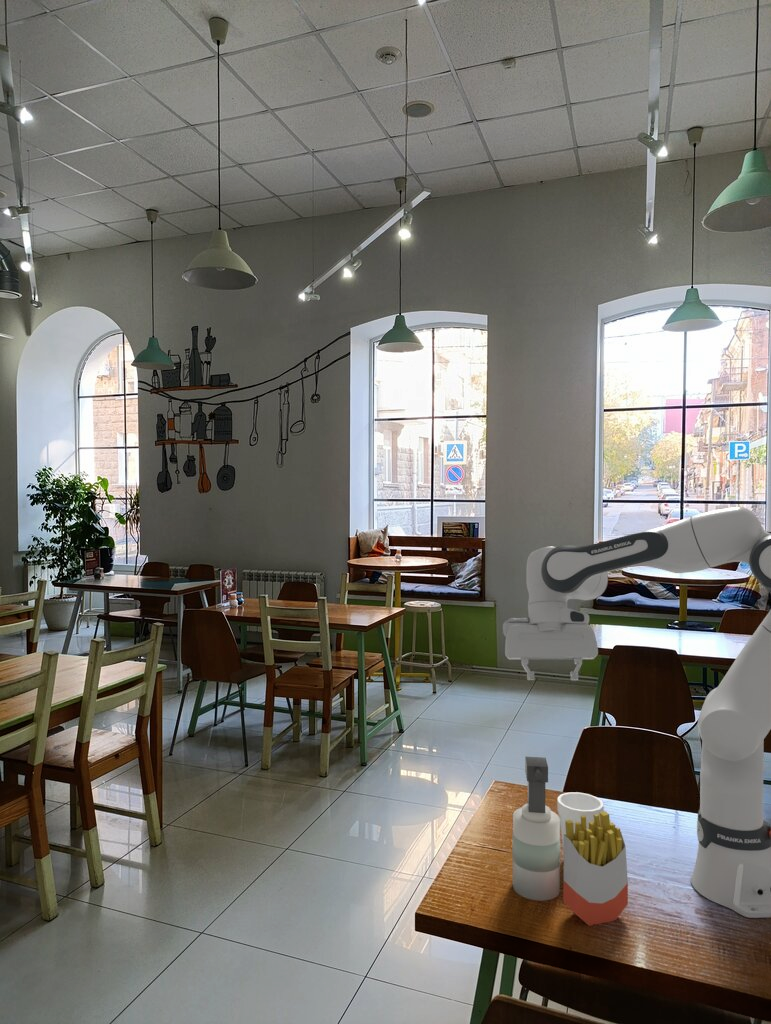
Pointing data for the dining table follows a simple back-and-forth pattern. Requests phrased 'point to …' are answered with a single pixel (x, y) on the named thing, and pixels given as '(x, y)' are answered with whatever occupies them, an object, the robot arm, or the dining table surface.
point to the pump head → (536, 769)
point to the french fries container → (595, 870)
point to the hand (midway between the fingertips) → (552, 679)
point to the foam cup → (577, 809)
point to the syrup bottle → (536, 847)
